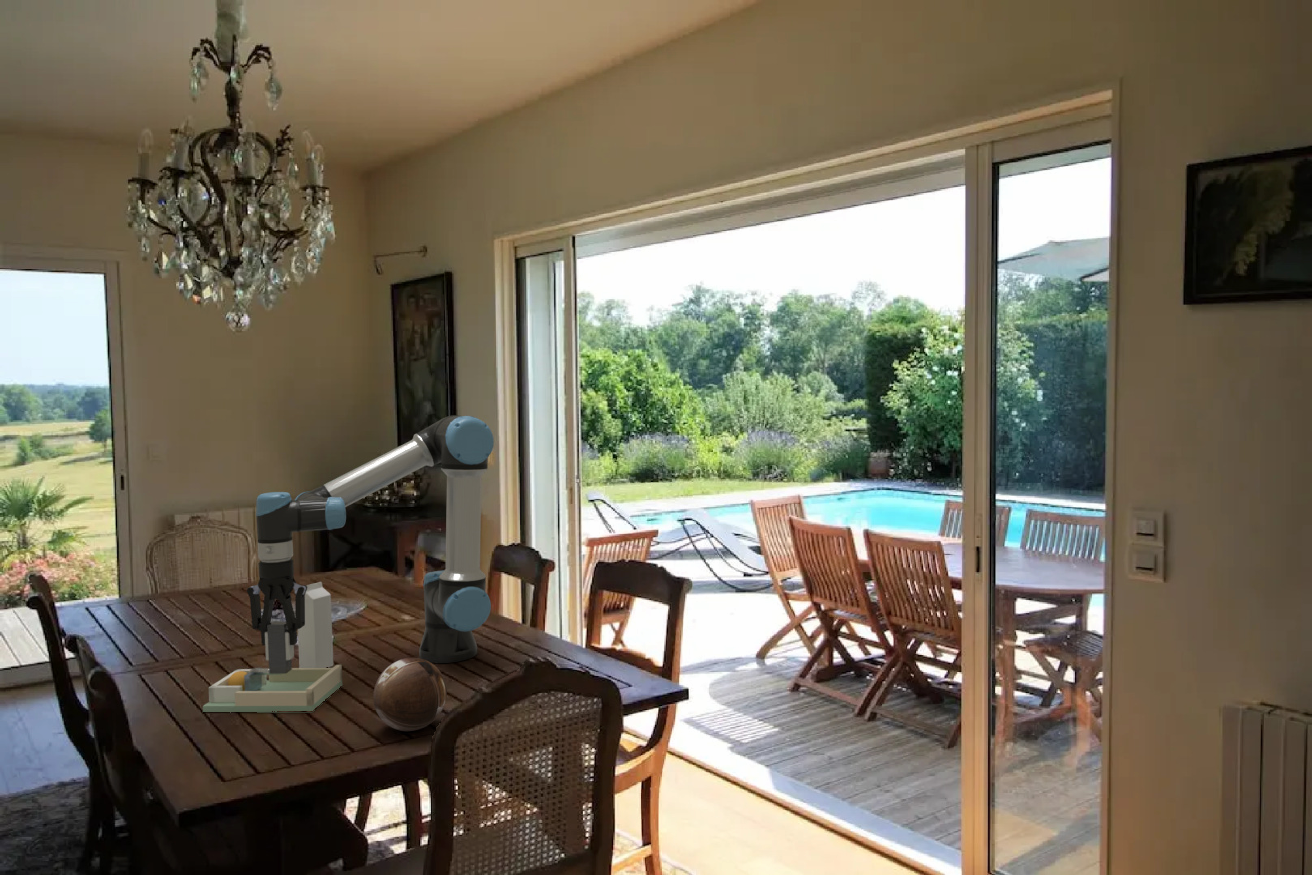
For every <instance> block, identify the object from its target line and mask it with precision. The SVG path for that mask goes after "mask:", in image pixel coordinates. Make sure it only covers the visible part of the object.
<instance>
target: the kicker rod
mask: <svg viewBox="0 0 1312 875" xmlns="http://www.w3.org/2000/svg"><path fill="white" fill-rule="evenodd" d="M267 630H268V654H269V660H268V668H262V667H256V668H250V669H251V670H250V672H249V673H248V674H246V675H245V676H244V681H245V691H257V690H258V689H260V688H261V687H262V675H267V676H269V675H281V674H285V673H288V672H289V671H290V670H292V668H293V664H292V663H293V662H292V659H290V660H286V647H285V632H287V630H288V628H287V624H286V620H285V621H284V620H282V621H281V620H279V621H276V620H275V621H274V620H273V621H271V623H269V624H268V625H267Z"/></svg>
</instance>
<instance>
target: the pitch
mask: <svg viewBox="0 0 1312 875" xmlns="http://www.w3.org/2000/svg"><path fill="white" fill-rule="evenodd" d="M251 669H252V668H249V669H248V668H244V669H243V668H238V669H235V670H233V672H231V673H229V674H227V675H226V676H224V677H223V678H221V679H220V680H218V681H216V682H215V683H213V684H212V685H210V686H209V687H208V702H207V703H204V705H203V706H202V713H203V712H230V714H231V712H257V713H278V712H277V711H313V710H314V709H315V708H316V707H317V706H319V705H320V704H321V703H322V702H323V701H325V699H326V698H328V697H329V696H330V695H331V694H332V693H334V692H335V691H336V690H337V689H338V690H340V689H341V688H340V686H342V687H343V668H342V664H335V665H333V666H332V667H328V668H299V667H292V670H290V671H289V672H288V673H285V674H281V675H262V687H261V688H260V689H258V690H257V691H242V686H228V681H229V678H230V677H231V675H232V674H234V673H236V672H239V671H244V672H246V673H249V672H250V670H251ZM339 688H340V689H339ZM338 690H337V691H338ZM337 691H336V692H337ZM336 692H335V693H336ZM335 693H334V694H335ZM330 697H331V696H330ZM330 697H329V698H330ZM329 698H328V699H329ZM325 702H326V701H325ZM322 704H323V703H322ZM322 704H321V705H322ZM321 705H320V706H321ZM320 706H319V707H320ZM272 711H273V712H272ZM274 711H275V712H274ZM314 711H315V710H314ZM314 711H313V712H314Z"/></svg>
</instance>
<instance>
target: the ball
mask: <svg viewBox="0 0 1312 875" xmlns="http://www.w3.org/2000/svg"><path fill="white" fill-rule="evenodd" d="M246 674H248V673H246V672H244V671H239V672H236V673H234V674H232V675H231V677H230V678H229V681H228V686H242V691H245V681H244V676H245V675H246Z"/></svg>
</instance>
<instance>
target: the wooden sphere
mask: <svg viewBox="0 0 1312 875" xmlns="http://www.w3.org/2000/svg"><path fill="white" fill-rule="evenodd" d="M447 691H448V690H447V683H446V679H445V677H444V675H443V674H442V672H441V670H440V669H439V668H438V667H437V666H436V665H435V664H434V663H431V662H429V661H426V660H424V659H420V657H405V658H401V659H399V660H397V661H394V662H393V663H391V664H389V665H388V666H387V667H386V668H385V669H384V670H383V671H382V672H381V673H380V675H379V676H378V678H377V680H376V682H375V685H374V688H373V695H372V696H373V698H372V699H373V705H374V708H375V711H376V713H377V715H378V717H379V718H380V719H381V721H382V722H383V723H385V724H386V725H387V726H389V727H390V728H392V729H394V730H397V731H400V732H414V731H418V730H421V729H423V728H426V727H428V726H429V725H430V724H432V723H433V722H435V720H437V718H438V717H439V716H440V714H441V713H442V711H443V709H444V707H445V704H446V700H447V694H448V692H447Z"/></svg>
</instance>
